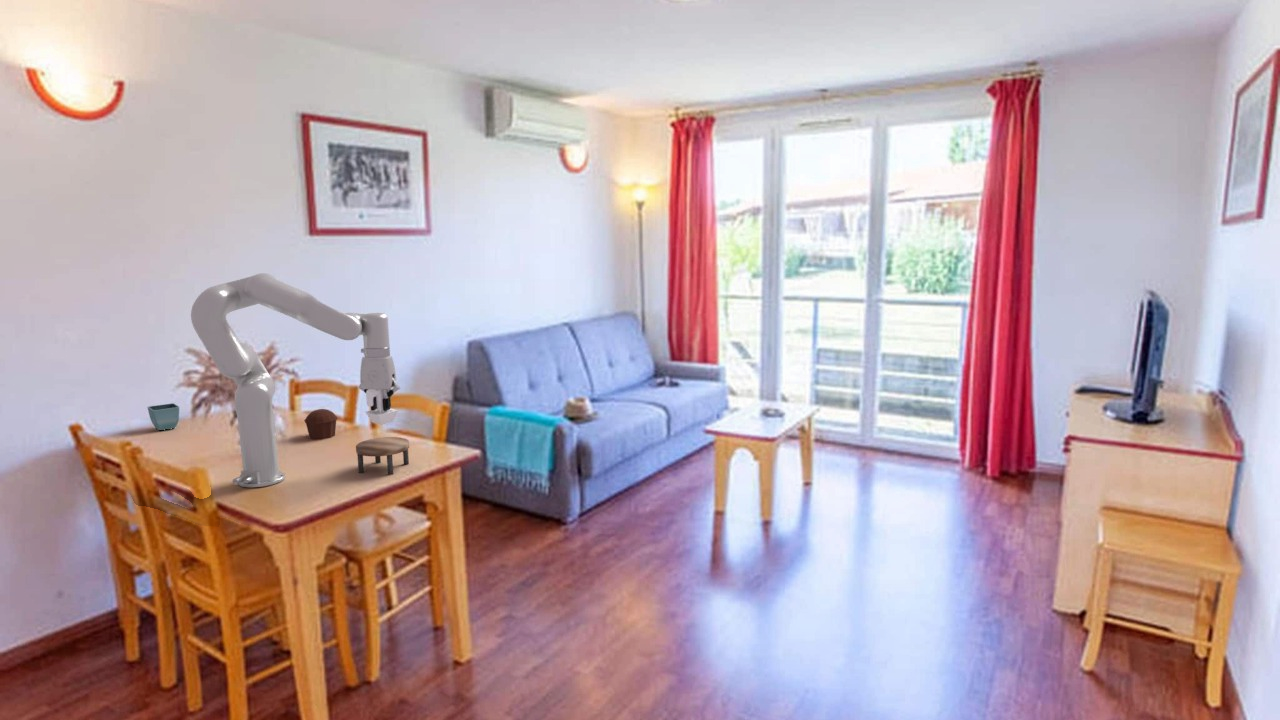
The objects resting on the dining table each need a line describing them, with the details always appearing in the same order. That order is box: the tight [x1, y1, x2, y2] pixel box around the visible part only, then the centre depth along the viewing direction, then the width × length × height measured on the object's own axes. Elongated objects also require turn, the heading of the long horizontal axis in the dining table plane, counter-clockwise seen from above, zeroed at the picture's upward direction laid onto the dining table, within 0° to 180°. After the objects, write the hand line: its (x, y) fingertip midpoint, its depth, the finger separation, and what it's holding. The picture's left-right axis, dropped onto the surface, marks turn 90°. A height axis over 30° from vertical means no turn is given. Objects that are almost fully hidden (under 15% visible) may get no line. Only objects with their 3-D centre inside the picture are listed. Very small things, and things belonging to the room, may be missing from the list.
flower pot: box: [147, 402, 180, 431], centre depth 270 cm, size 9×9×9 cm
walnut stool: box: [355, 436, 410, 476], centre depth 225 cm, size 16×16×8 cm
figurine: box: [364, 387, 399, 426], centre depth 222 cm, size 7×9×15 cm
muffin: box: [303, 408, 338, 441], centre depth 261 cm, size 12×11×10 cm
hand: (380, 409), depth 222 cm, fingers closed on figurine, 3 cm apart
